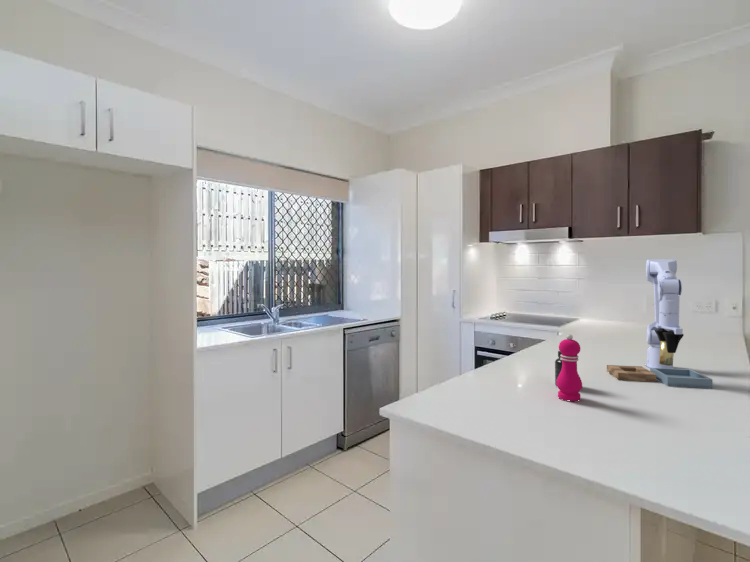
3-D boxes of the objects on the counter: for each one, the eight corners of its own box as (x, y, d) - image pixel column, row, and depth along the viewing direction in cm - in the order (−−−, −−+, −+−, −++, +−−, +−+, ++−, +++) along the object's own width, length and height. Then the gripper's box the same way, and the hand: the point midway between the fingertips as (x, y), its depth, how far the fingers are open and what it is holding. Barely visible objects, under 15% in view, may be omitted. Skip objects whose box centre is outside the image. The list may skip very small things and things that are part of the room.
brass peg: (657, 362, 143) (658, 340, 143) (670, 363, 142) (672, 341, 141) (660, 364, 139) (662, 342, 139) (674, 366, 138) (676, 343, 137)
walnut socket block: (606, 371, 153) (606, 364, 153) (641, 372, 150) (641, 366, 150) (618, 379, 141) (618, 373, 141) (656, 381, 139) (656, 374, 139)
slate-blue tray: (650, 375, 147) (650, 367, 146) (690, 377, 144) (690, 369, 143) (667, 385, 134) (667, 377, 134) (712, 388, 131) (712, 379, 131)
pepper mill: (585, 403, 118) (586, 336, 117) (559, 401, 119) (559, 336, 119) (578, 395, 125) (578, 332, 124) (553, 394, 126) (554, 332, 126)
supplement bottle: (572, 383, 137) (572, 349, 137) (580, 389, 131) (580, 353, 130) (551, 383, 138) (552, 349, 138) (559, 389, 131) (559, 353, 131)
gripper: (647, 310, 148) (646, 346, 148) (665, 315, 133) (665, 355, 134) (669, 311, 146) (668, 347, 146) (690, 315, 132) (689, 356, 132)
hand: (668, 351), depth 140 cm, fingers closed on brass peg, 4 cm apart
